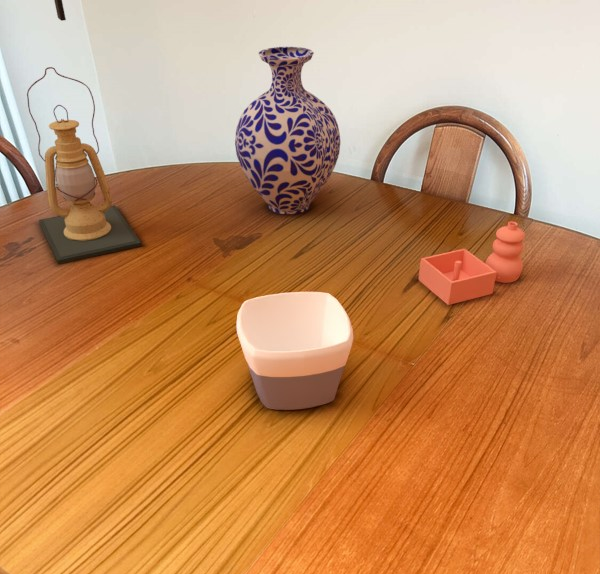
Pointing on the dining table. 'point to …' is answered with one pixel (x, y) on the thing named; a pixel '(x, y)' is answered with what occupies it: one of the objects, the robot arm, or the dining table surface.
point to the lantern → (75, 179)
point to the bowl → (295, 347)
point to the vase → (287, 136)
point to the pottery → (474, 268)
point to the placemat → (76, 250)
